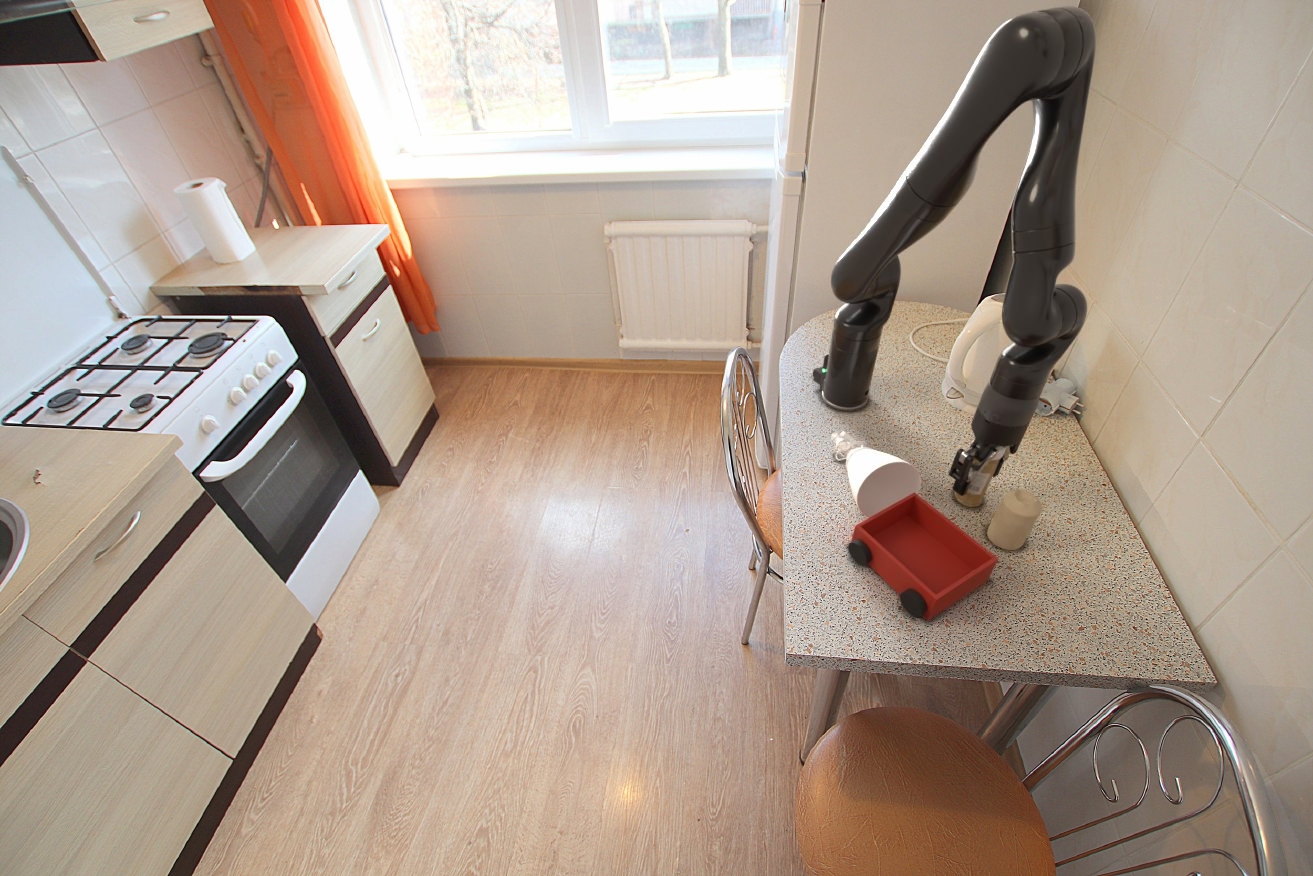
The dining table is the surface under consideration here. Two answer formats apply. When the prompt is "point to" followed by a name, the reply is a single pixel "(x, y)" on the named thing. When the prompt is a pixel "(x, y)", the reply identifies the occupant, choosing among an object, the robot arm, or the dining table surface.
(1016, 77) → the robot arm
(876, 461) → the rocket engine
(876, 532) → the cart
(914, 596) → the cart wheels
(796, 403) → the dining table surface
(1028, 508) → the candle
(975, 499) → the sprinkles bottle
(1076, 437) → the dining table surface
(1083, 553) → the dining table surface
